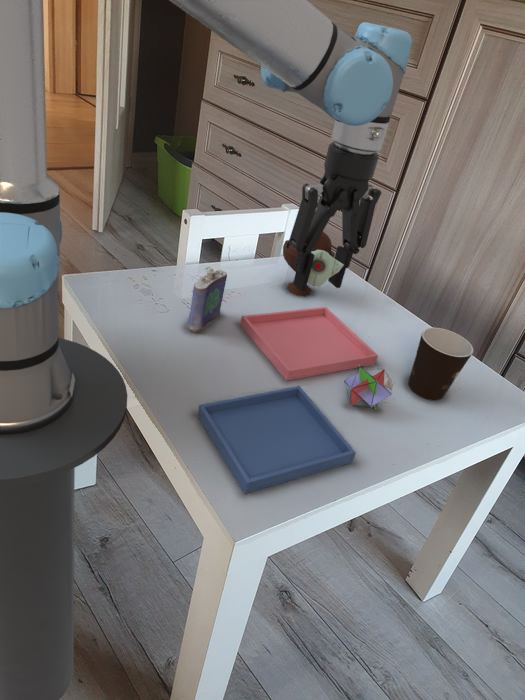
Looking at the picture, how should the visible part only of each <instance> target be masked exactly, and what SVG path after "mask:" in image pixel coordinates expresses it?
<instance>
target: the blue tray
mask: <svg viewBox="0 0 525 700" xmlns="http://www.w3.org/2000/svg"><path fill="white" fill-rule="evenodd" d="M197 410H198V411H197V417H198V419H199V420H200V422H201V424H202V426H203V427H204V429H205V430H206V432H207V434H208V435H209V437H210V439H211V440H212V442H213V445H215V447H216V449H217V451H218V452H219V454H220V456H221V457H222V459H223V461H224V462H225V464H226V465H227V467H228V469H229V471H230V472H231V474H232V475H233V477H234V479H235V480H236V482H237V484H238V485H239V487H240V488H241V490H242V492H243V493H244V494H248V493H252V492H255V491H258V490H263V489H266V488H269V487H272V486H276V485H280V484H282V483H287V482H290V481H293V480H296V479H300V478H303V477H307V476H310V475H315V474H318V473H321V472H325V471H327V470H331V469H334V468H338V467H342V466H345V465H349V464H352V463H353V461H354V458H355V456H356V454H357V452H356V450H354V448H353V447H352V446H351V445H350V444H349V442H348V441H347V440H346V438H345V437H344V436H343V435H342V434H341V433H340V432H339V431H338V430H337V428H336V427H335V426H334V424H332V421H330V419H328V418H327V416H326V415H325V414H324V413H323V412H322V411H321V410H320V408H319V407H318V406H317V405H316V403H315V402H314V401H313V399H312V398H311V397H310V396H309V395H308V394H307V393H306V391H305V390H304V389H303V388H302V387H301V386H300V385H296V386H291V387H286V388H281V389H276V390H271V391H266V392H265V391H264V392H260V393H255V394H249V395H245V396H244V395H243V396H239V397H233V398H229V399H224V400H217V401H213V402H208V403H203V404H199V405H198V409H197Z"/></svg>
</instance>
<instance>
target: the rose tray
mask: <svg viewBox="0 0 525 700" xmlns="http://www.w3.org/2000/svg"><path fill="white" fill-rule="evenodd" d="M240 327H241V328H242V329H243V330H244V331H245V333H246V334H247V335H248V336H249V338H250V339H251V340H252V341H253V342H254V343H255V345H256V346H257V348H258V349H259V350H260V351H261V352H262V353H263V355H264V356H265V357H266V358H267V359H268V361H269V362H270V363H271V365H273V367H274V368H275V369H276V371H278V373H279V374H280V375H281V376H282V377H283V379H284V380H285V381H290V380H291V381H292V380H298V379H302V378H303V379H304V378H308V377H314V376H318V375H319V376H320V375H325V374H330V373H335V372H336V373H337V372H341V371H346V370H347V371H348V370H353V369H358V368H359V365H360V366H361V367H362V368H363V367H364V366H366V367H370V366H374V365H376V363H377V360H378V358H379V355H378V353H376V352H375V351H374V350H373V349H372V348H371V347H370V346H369V345H368V344H367V343H365V341H364V340H363V339H361V338H360V337H359V336H358V335H357V334H356V333H355V332H354V331H353V330H351V328H350V327H348V326H347V325H346V324H345V323H344V322H343V321H342V320H341V319H340V318H339V317H337V315H335V313H333V312H332V311H331V310H330V309H329V308H328V307H327V306H321V307H310V308H301V309H294V310H293V309H292V310H285V311H276V312H267V313H266V312H264V313H256V314H248V315H247V314H246V315H242V316H241V319H240ZM364 368H365V367H364Z"/></svg>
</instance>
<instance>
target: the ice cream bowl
mask: <svg viewBox="0 0 525 700" xmlns="http://www.w3.org/2000/svg"><path fill="white" fill-rule="evenodd" d="M332 244H333V243H332V240H331V238H330V237H329V235H328V234H327V233H325V232H324V231H323V232H322V234H321V235H320V237H319V239H318V241H317V242H316V244H315V246H314V248H313V250H312V251H316V250H323V251H325V252H328V253H329V255H331V256H332V257H333V258H335V254H336V252H334V251H333V250H332ZM297 252H298V251H297V250H296V249H295V248H293V247H292V246H291V245H290V244H289V239H287V240H285V241H284V243H283V245H282V257H283V259H284V261H285V263H286V264H287V265H288V266H289V267H290V269H292V270H293V271H294V272H295V273H296V270H297V269H296V268H295V261H296V256H297ZM293 282H294V281H292V282H288V283H287V284H286V285H287V286H286V291H288V292H289V293H290V294H292V295H295V296H298V297H309V296H310V295H311V294H312V288H311V287H310V286H309V284H307V286H306V290H305V291H300V290H299V289H298V288H297V287H296V286H295V285H294V284H293Z"/></svg>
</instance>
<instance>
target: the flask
mask: <svg viewBox="0 0 525 700" xmlns="http://www.w3.org/2000/svg"><path fill="white" fill-rule="evenodd" d="M204 270H206V273H205V274H204V275H203V276H202V277H200V278H199V279H198V280H197V281H196V282H195V283H194V285H193V288H192V297H191V298H192V299H191V305H190V311H189V316H188V323H187V330H188V331H189V332H192V333H195V334H196V333H197V332H202V331H203V329H204V328H206V327H207V326H209V325H210V323H212V322H213V321H215V320H216V319H218V318H219V317H220V313H221V308H222V302H223V298H224V292H225V288H226V282H227V278H228V273H227V272H226V271H224V270H221V269H216V270H214V268H213V267H210V266H206V267H205V269H204Z"/></svg>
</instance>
